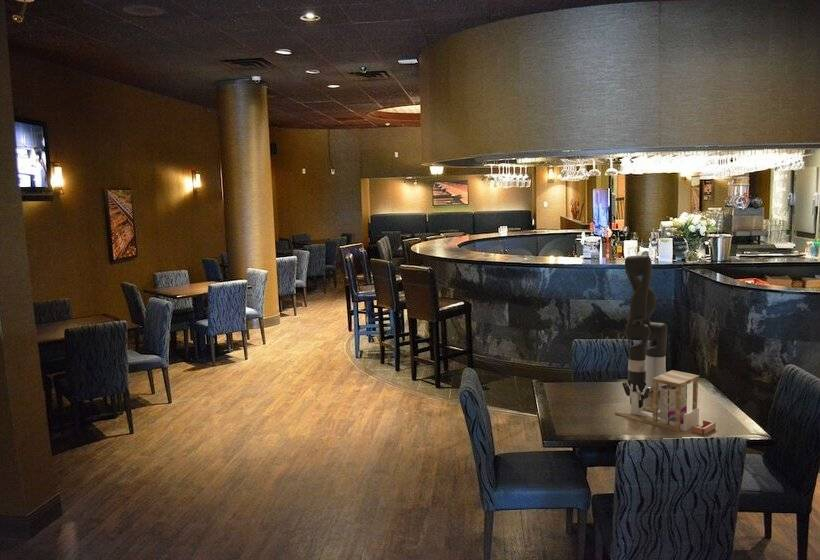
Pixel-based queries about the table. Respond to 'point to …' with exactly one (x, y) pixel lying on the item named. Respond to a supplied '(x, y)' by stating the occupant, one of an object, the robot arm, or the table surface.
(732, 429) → the table surface
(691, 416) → the sled
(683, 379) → the tunnel
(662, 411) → the candy bar box
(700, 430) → the tray
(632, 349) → the robot arm
